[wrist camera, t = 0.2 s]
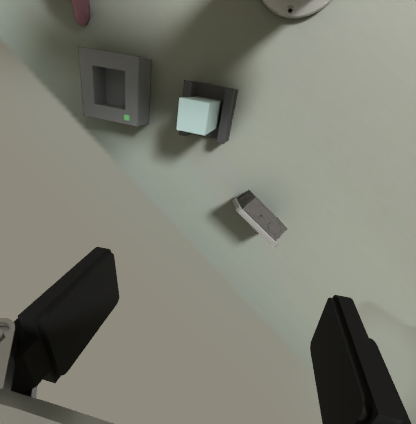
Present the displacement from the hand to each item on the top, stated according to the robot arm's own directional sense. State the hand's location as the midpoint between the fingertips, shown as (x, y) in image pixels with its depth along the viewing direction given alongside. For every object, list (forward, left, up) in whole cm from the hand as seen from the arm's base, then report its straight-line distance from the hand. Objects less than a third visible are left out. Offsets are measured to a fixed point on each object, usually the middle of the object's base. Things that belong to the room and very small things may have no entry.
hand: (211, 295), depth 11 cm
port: (-5, -25, -36) cm, 44 cm away
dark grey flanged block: (-4, -9, -36) cm, 37 cm away
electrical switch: (+11, +3, -36) cm, 38 cm away
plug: (-4, -9, -35) cm, 36 cm away
